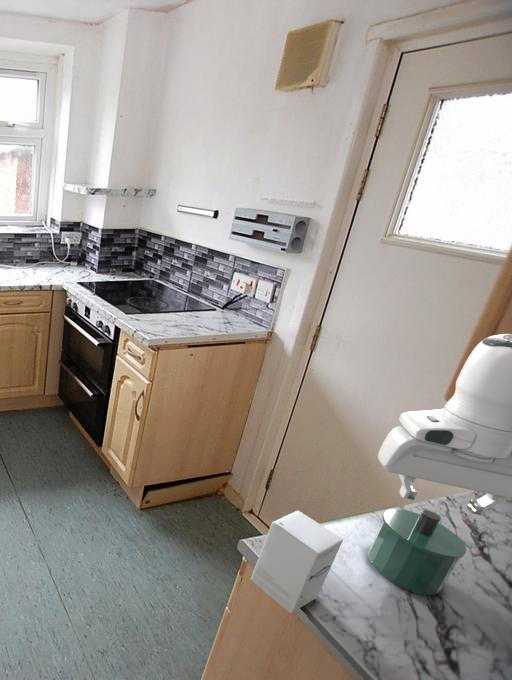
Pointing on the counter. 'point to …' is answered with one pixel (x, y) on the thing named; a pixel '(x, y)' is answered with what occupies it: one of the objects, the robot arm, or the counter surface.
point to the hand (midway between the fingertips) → (439, 504)
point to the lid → (424, 532)
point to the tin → (408, 564)
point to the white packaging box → (295, 560)
